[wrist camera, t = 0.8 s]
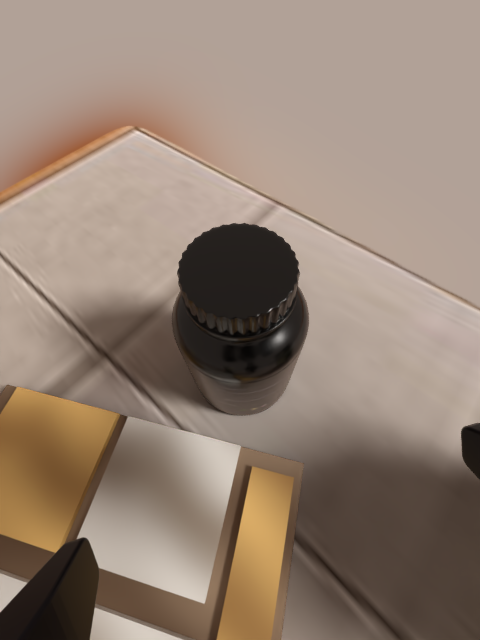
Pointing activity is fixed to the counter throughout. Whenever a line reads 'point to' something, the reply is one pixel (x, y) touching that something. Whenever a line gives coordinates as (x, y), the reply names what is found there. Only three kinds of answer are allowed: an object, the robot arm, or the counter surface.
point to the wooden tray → (147, 519)
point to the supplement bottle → (240, 316)
